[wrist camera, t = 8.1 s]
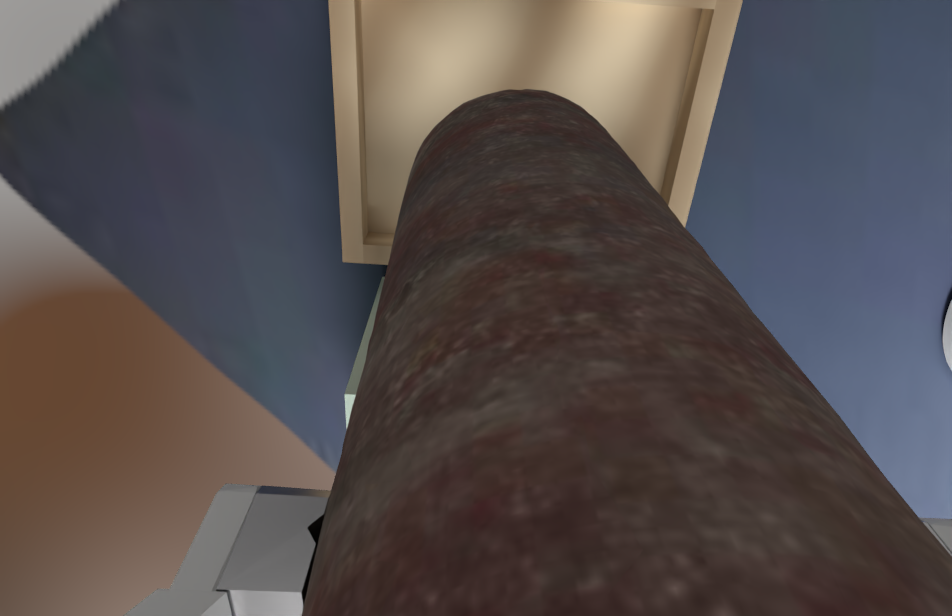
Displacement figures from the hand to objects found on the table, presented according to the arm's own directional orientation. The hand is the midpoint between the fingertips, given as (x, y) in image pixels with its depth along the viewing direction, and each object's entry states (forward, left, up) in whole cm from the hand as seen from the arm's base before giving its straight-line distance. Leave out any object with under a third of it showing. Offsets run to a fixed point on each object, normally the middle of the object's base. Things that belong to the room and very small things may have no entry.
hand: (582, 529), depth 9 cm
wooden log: (0, 0, -15) cm, 15 cm away
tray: (0, 0, -23) cm, 23 cm away
